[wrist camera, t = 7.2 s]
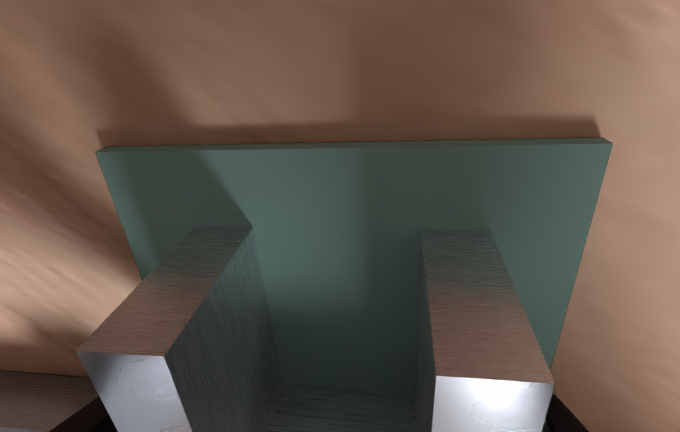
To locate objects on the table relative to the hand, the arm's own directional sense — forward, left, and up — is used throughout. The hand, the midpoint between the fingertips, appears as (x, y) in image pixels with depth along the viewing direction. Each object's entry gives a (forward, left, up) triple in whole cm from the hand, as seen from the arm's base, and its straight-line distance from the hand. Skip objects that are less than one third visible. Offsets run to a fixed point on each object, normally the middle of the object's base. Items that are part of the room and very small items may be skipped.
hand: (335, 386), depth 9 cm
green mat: (0, 0, -2) cm, 2 cm away
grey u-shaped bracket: (0, 0, -2) cm, 2 cm away
